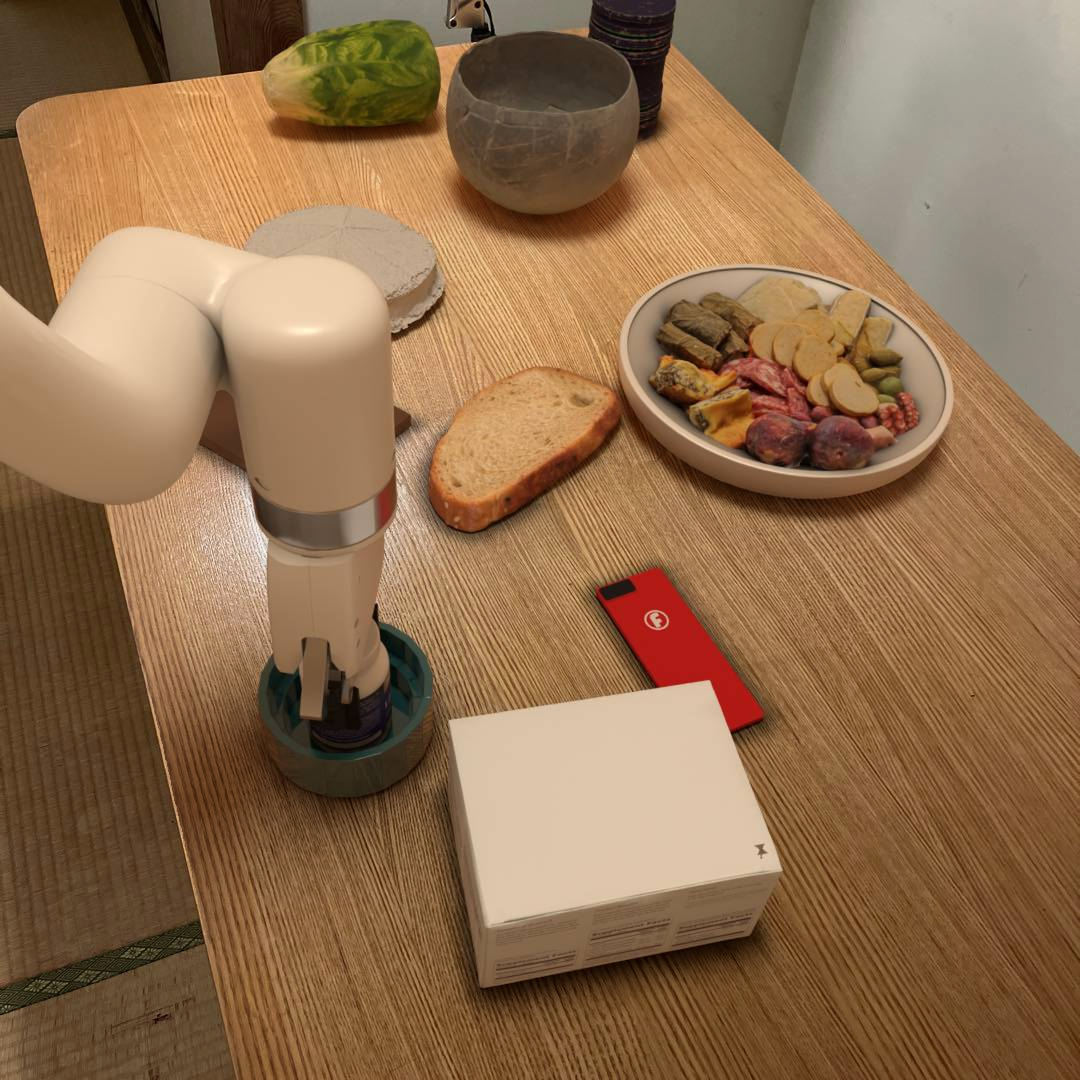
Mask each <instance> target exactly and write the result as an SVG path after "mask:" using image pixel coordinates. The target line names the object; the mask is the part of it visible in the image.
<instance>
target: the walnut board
mask: <svg viewBox="0 0 1080 1080" xmlns="http://www.w3.org/2000/svg"><path fill="white" fill-rule="evenodd" d="M411 425H412V415H411V413H409V412H407V411H405V410H403V409H401V408H399V407H397V406H396V405H394V430H395V439H396V438H397V437H398V436H400V435H401V434H402V433H403V432H404V431H405V430H407V429H408V428H409V427H410V426H411ZM198 444H201V445H202V446H204V447H205V448H207V449H209V450H210V451H213V452H214V453H216V454H217V455H219V456H220V457H223V458H224V459H226V460H227V461H229V462H231V463H232V464H234V465H236V466H237V467H239V468H241V469H242V470H244V471H246V472H247V469H246V463H245V458H244V452H243V447H242V441H241V436H240V430H239V425H238V419H237V414H236V409H235V403H234V398H233V397H232V396H231V394H230V393H229V392H227V391H225V390H217V391H216V394H215V397H214V400H213V403H212V406H211V409H210V412H209V415H208V418H207V421H206V424H205V427H204V429H203V432H202V435H201V438H200V441H199V443H198Z"/></svg>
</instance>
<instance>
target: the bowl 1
mask: <svg viewBox="0 0 1080 1080" xmlns="http://www.w3.org/2000/svg"><path fill="white" fill-rule="evenodd" d="M446 95H447V96H446V103H445V127H446V133H447V134H446V135H447V140H448V144H449V147H450V151H451V153H452V154H451V155H452V156H453V160H454V161H455V163H456V165H457V168H458V169H459V170H460V172H461V174H462V176H463V177H464V179H466V181H467V182H468V183H469V184H470V185H471V186H472V187H473V188H474V189H476V191H477V192H479V193H480V194H482V195H483V196H484V197H486V198H487V199H489V200H490V201H492V202H493V203H495V204H496V205H499V206H501V207H503V208H505V209H506V210H508V211H513V212H517V213H519V214H520V213H521V214H525V215H534V216H535V215H538V216H544V215H547V216H548V215H558V214H562V213H563V214H564V213H566V212H569V211H573V210H576V209H579V208H582V207H583V206H585V205H587V204H589V203H591V202H593V201H594V200H596V199H598V198H599V197H601V196H602V195H604V193H606V192H607V191H608V190H609V189H610V188H611V187H612V186H613V185H614V184H615V183H616V182H617V181H618V179H620V177H621V176H622V174H623V173H624V171H625V170H626V168H627V166H628V164H629V162H630V160H631V158H632V156H633V153H634V150H635V147H636V144H637V142H638V141H637V136H638V130H639V119H640V108H639V96H638V90H637V85H636V81H635V78H634V74H633V72H632V69H631V67H630V65H629V63H628V61H627V60H626V58H625V57H624V56H623V55H622V54H620V53H619V52H618V51H616V50H615V49H613V48H612V47H610V46H609V45H607V44H605V43H602V42H600V41H598V40H595V39H591V38H588V36H585V35H580V34H576V33H568V32H558V31H548V30H526V31H525V30H524V31H515V32H508V33H503V34H498V35H493V36H490V37H487V38H484V39H481V40H479V41H477V42H475V43H474V44H472V45H470V47H469V48H468V49H466V50H465V51H464V52H463V53H462V54H461V56H460V57H459V58H458V59H457V62H456V64H455V66H454V68H453V70H452V74H451V77H450V81H449V85H448V88H447V94H446ZM636 141H637V142H636Z"/></svg>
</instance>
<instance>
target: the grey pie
mask: <svg viewBox="0 0 1080 1080" xmlns="http://www.w3.org/2000/svg"><path fill="white" fill-rule="evenodd" d="M303 207H304V208H302V206H301V208H300V207H299V206H297V208H298V209H297V208H296V207H294V209H293V208H292V207H291V210H290V209H289V208H288V209H287V210H284V212H283V214H282V213H280V215H281V216H280V215H277V216H276V217H274V216H271V217H272V218H271V219H266V218H264V222H263V223H260V224H258V225H255V227H254V228H253V229H251V231H250V235H249V237H248V239H247V240H245V243H244V245H243V246H244V247H243V249H242V250H244V251H247V252H251V253H255V254H259V255H263V256H267V257H271V258H281V257H287V256H293V255H318V256H325V257H330V258H334V259H338V260H341V261H344V262H346V263H349V264H351V265H354V266H355V267H357V268H359V269H361V270H362V271H363V272H365V273H366V274H367V275H368V276H370V277H371V278H372V279H373V280H374V281H375V283H376V284H377V285H378V287H379V288H380V290H381V291H382V293H383V295H384V298H385V300H386V303H387V306H388V309H389V316H390V326H391V333H392V334H396V333H399V332H400V331H401V330H405V329H407V328H409V325H408V324H412V323H413V322H415V321H418V320H420V319H421V318H422V317H423V316H424V314H425V313H426V311H429V310H430V309H431V307H432V306H433V305H434V304H435V303H436V302H437V300H438V299H439V298H440V297H442V295H443V291H444V287H445V285H446V281H445V278H444V275H443V273H442V271H441V269H440V266H439V265H438V264H439V263H437V261H438V257H437V252H436V250H437V249H436V245H434V243H433V242H431V240H429V238H428V237H427V236H426V235H425V234H421V232H420V231H416V230H415V229H413V228H412V227H411V226H410V225H408V224H405V221H400V220H399V219H397V218H394V217H393V216H390V215H389V214H386V213H383V212H382V211H379V210H377V209H373V208H368V207H364V206H360V205H359V206H357V205H352V204H349V205H348V204H344V203H343V204H341V203H340V204H331V203H329V204H328V203H325V204H319V205H318V204H316V206H315V205H314V204H313V205H312V204H310V205H307V206H306V205H303ZM287 211H289V212H287Z"/></svg>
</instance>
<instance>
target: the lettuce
mask: <svg viewBox="0 0 1080 1080" xmlns="http://www.w3.org/2000/svg"><path fill="white" fill-rule="evenodd" d="M441 87H442V75H441V66H440V61H439V56H438V53H437V50H436V48H435V45H434V42H433V40H432V38H431V36H430V34H429V32H428V30H427V29H426V28H425V27H424V26H421V25H419V24H418V23H415V22H413V21H411V20H404V19H380V20H372V21H366V22H361V23H357V24H351V25H343V26H338V27H337V26H336V27H332V28H327V29H326V28H325V29H322V30H318V31H316V32H312V33H310V34H308V35H305V36H303V37H302V38H300V39H298V40H297V41H295V42H294V43H292V45H290V46H289V47H288V48H287V49H285V50H283V51H281V52H280V53H278V54H277V55H275V56H274V57H272V58H271V59H270V61H268V62H267V64H266V65H265V67H263V69H262V71H261V90H262V93H263V96H264V99H265V101H266V104H267V106H268V107H269V108H270V109H271V110H273V111H274V112H275V113H277V114H279V115H281V116H283V117H284V118H290V119H295V120H299V121H302V122H305V123H309V124H311V125H315V126H316V125H317V126H322V127H335V128H336V127H337V128H338V127H339V128H341V127H343V128H344V127H354V128H355V127H357V128H358V127H359V128H360V127H361V128H372V127H381V126H391V125H397V124H412V123H413V124H417V123H418V124H419V123H420V124H421V123H423V122H425V121H426V120H427V119H428V118H429V117H430V116H432V115H433V114H434V113H435V111H436V110H437V109H438V105H439V99H440V94H441Z"/></svg>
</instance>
